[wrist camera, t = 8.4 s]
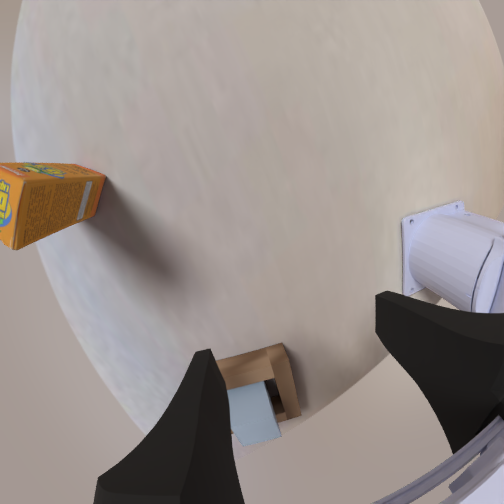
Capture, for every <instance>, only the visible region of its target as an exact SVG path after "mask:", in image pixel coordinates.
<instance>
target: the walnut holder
mask: <svg viewBox="0 0 504 504" xmlns="http://www.w3.org/2000/svg"><path fill="white" fill-rule="evenodd" d="M216 363H217V365H218V367H219V369H220V372H221V374H222V376H223V378H224V380H225V383H226V388H227V390H230V389H234V388H238V387H242V386H246V385H250V384H253V383H257V382H261V381H264V380H268V379H271V378H274V379H275V382H276V385H277V389H278V392H279V395H278V396H275V397H271V398H270V399H271V402H272V406H273V409H274V412H275V416H276V419H277V423H278V422H282V421H285V420H288V419H292V418H295V417H298V416H301V411H300V407H299V402H298V398H297V393H296V389H295V384H294V380H293V375H292V371H291V367H290V362H289V359H288V356H287V354H286V352H285V349H284V347H283V345H282V343H279V344H276V345H273V346H269V347H266V348H263V349H259V350H256V351H252V352H248V353H245V354H241V355H237V356H233V357H230V358H226V359H222V360H218V361H216ZM231 434H233V431H232V429H231Z"/></svg>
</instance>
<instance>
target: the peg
mask: <svg viewBox="0 0 504 504" xmlns="http://www.w3.org/2000/svg"><path fill="white" fill-rule="evenodd" d="M227 393H228V399H229V406H230V421H231V429H232V431H233V433H234V434H235V436H236V437H237V439H238V440H239V442H240V443H241V444H242V446H247V445H251V444H256V443H260V442H264V441H267V440H271V439H275V438H278V437H281V433H280V429H279V426H278V423H277V419H276V416H275V412H274V409H273V406H272V402H271V399H270V395H269V392H268V389H267V386H266V384H265V381H261V382H257V383H253V384H250V385H246V386H242V387H238V388H234V389H230V390H227Z"/></svg>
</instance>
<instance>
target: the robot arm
mask: <svg viewBox="0 0 504 504" xmlns="http://www.w3.org/2000/svg"><path fill="white" fill-rule="evenodd" d="M410 220H411V223H410ZM402 243H403V295H401V294H398V293H394V292H390V291H385V292H382V293H380V294H377V295H375V299H376V328H375V332H376V334H377V335H378V337H379V338H380V340H381V342H382V343H383V345H384V346H385V347H386V349H387V350H388V351H389V352H390V354H391V355H392V356H393V357H394V358H395V359H396V360H397V361H398V363H399V364H400V365H401V366H402V367H403V368H404V369H405V370H406V371H407V373H408V374H409V375H410V376H411V377H412V378H413V380H414V381H415V382H416V383H417V385H418V386H419V388H420V389H421V391H422V392H423V394H424V395H425V397H426V398H427V400H428V402H429V403H430V405H431V407H432V408H433V410H434V412H435V414H436V415H437V418H438V420H439V422H440V424H441V426H442V428H443V430H444V432H445V434H446V437H447V439H448V442H449V444H450V447H451V450H452V453H453V454H454V455H452V456H451V457H450V458H448V459H447V460H445V461H444V462H443V463H441V464H440V465H439V466H437V467H435V468H434V469H432V470H431V471H430V472H428V473H426V474H425V475H423V476H422V477H420V478H418V479H417V480H415V481H413V482H412V483H410V484H408V485H407V486H405V487H403V488H401V489H399V490H398V491H396V492H394V493H392V494H390V495H388V496H386V497H384V498H382V499H380V500H378V501H376V502H374V503H371V504H409V503H411V502H413V501H414V500H416V499H418V498H419V497H421V496H422V495H424V494H426V493H427V492H429V491H431V490H432V489H434V488H435V487H436V486H438V485H440V484H441V483H442V482H444V481H445V480H446V479H448V478H449V477H451V476H452V475H453V474H455V473H456V472H457V471H459V470H460V469H461V468H462V467H464V466H465V465H466V464H467V463H468V462H470V461H471V460H472V459H473V458H474V457H475V456H477V455H478V454H479V453H480V452H481V453H480V457H478V458H477V460H475V461H474V462H473V463H472V464H471V465H470V466H469V467H468V468H467V469H466V470H465V471H464V472H463V473H462V474H461V475H460V476H459V477H458V478H457V479H456V480H455V481H453V482H452V483H451V484H450V485H449V489H450V490H451V492H452V495H450V496H449V497H448V498H446V499H445V500H444V501H442V502H441V503H439V504H504V223H503V222H500V221H497V220H494V219H491V218H488V217H485V216H482V215H479V214H475V213H472V212H469V211H465V210H464V202H463V201H460V200H459V201H456V202H453V203H450V204H446V205H443V206H440V207H437V208H433V209H430V210H427V211H424V212H420V213H417V214H414V215H410V216H407V217H404V218H403V219H402ZM426 287H427V288H428V289H430V290H431V291H433V292H434V293H436V294H437V295H439V296H440V297H442V298H443V299H445V300H446V301H448V302H449V303H451V304H452V305H454V306H455V307H456V308H458V309H459V310H455V309H450V308H446V307H442V306H438V305H434V304H431V303H427V302H424V301H420V300H417V299H414V298H411V297H408V296H409V295H411V294H413V293H416V292H418V291H420V290H422V289H424V288H426ZM411 288H412V289H411ZM404 295H405V296H404ZM93 504H245V503H244V499H243V495H242V492H241V488H240V483H239V479H238V475H237V471H236V466H235V461H234V456H233V448H232V436H231V421H230V406H229V399H228V393H227V388H226V383H225V380H224V378H223V376H222V374H221V372H220V369H219V367H218V365H217V363H216V361H215V358H214V356H213V354H212V351H211V349H206V350H202V351H197V352H195V354H194V356H193V358H192V361H191V363H190V365H189V367H188V370H187V372H186V374H185V376H184V378H183V380H182V382H181V384H180V386H179V388H178V390H177V392H176V394H175V395H174V397H173V399H172V401H171V402H170V404H169V406H168V407H167V409H166V411H165V412H164V414H163V415H162V417H161V418H160V419H159V421H158V422H157V424H156V425H155V426H154V428H153V429H152V430H151V431H150V432H149V433H148V434H147V436H146V437H145V438H144V439H143V440H142V442H140V444H139V445H138V446H137V447H136V448H135V449H134V450H133V451H131V452H130V453H129V454H128V455H127V456H126V457H125V458H124V459H122V460H121V461H120V462H119V463H118V464H116V465H115V466H114V467H112V468H111V469H109V470H108V471H107V472H105V473H104V474H102V475H101V476H99V477H98V480H97V486H96V491H95V497H94V503H93Z"/></svg>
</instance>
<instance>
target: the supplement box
mask: <svg viewBox="0 0 504 504" xmlns="http://www.w3.org/2000/svg"><path fill="white" fill-rule="evenodd" d="M105 178H106V176H105V175H104V174H101V173H99V172H96V171H94V170H91V169H88V168H85V167H82V166H79V165H76V164H60V163H0V240H2V241H3V243H4V245H6V246H8V247H9V248H11V249H13V250H19V249H21V248H23V247H25V246H27V245H29V244H31V243H33V242H36V241H38V240H40V239H42V238H44V237H46V236H49V235H51V234H53V233H55V232H58V231H60V230H62V229H64V228H67V227H69V226H71V225H74V224H76V223H79V222H81V221H83V220H86V219H88V218H90V217H93V216H94V215H95V213H96V209H97V205H98V202H99V198H100V195H101V191H102V188H103V184H104V181H105Z"/></svg>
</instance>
